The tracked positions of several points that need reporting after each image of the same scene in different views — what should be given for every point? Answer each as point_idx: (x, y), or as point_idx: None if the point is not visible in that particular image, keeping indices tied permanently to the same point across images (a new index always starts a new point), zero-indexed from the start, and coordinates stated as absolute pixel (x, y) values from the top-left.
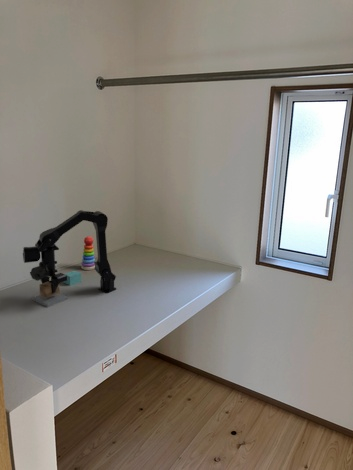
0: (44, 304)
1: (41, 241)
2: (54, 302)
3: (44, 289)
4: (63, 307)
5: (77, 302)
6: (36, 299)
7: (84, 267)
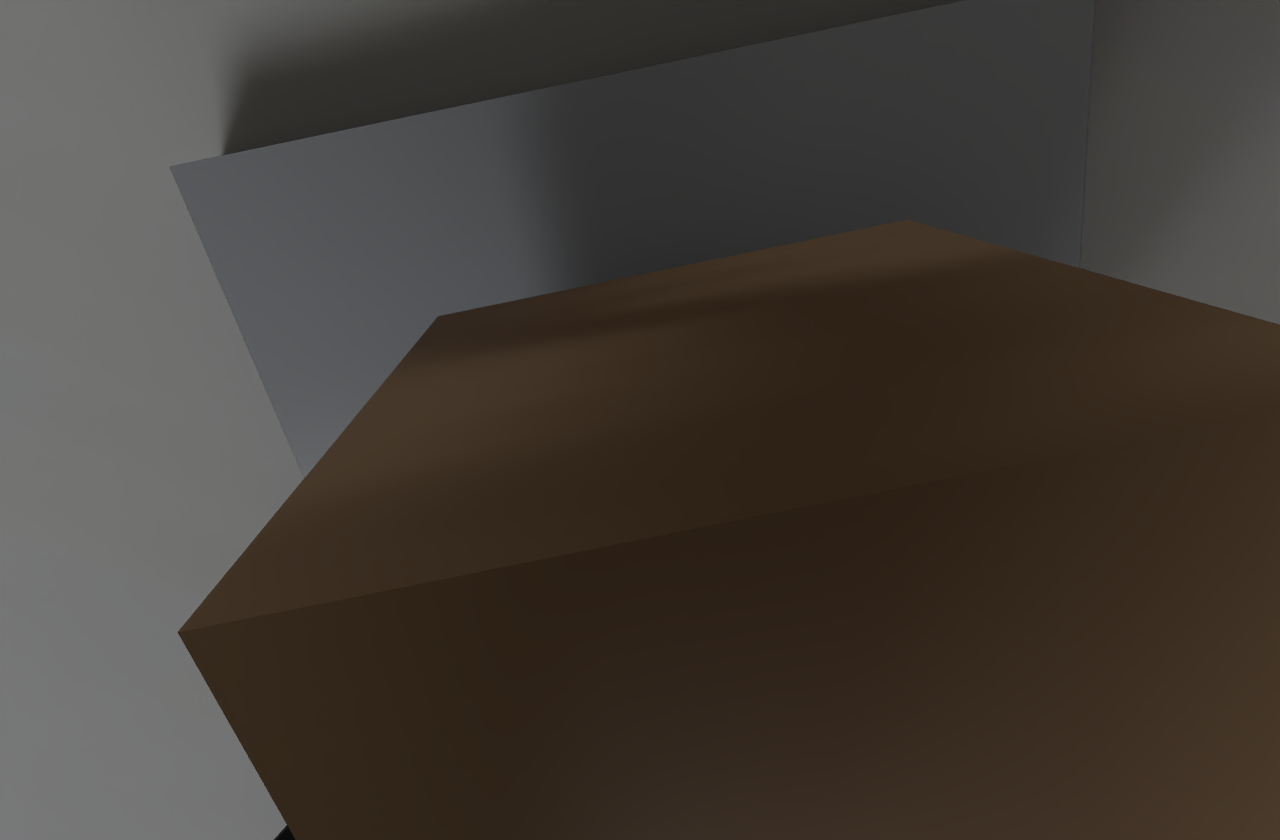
0: (368, 129)
1: None
2: (301, 438)
3: (547, 421)
4: (6, 513)
5: (161, 830)
6: (849, 35)
7: None
